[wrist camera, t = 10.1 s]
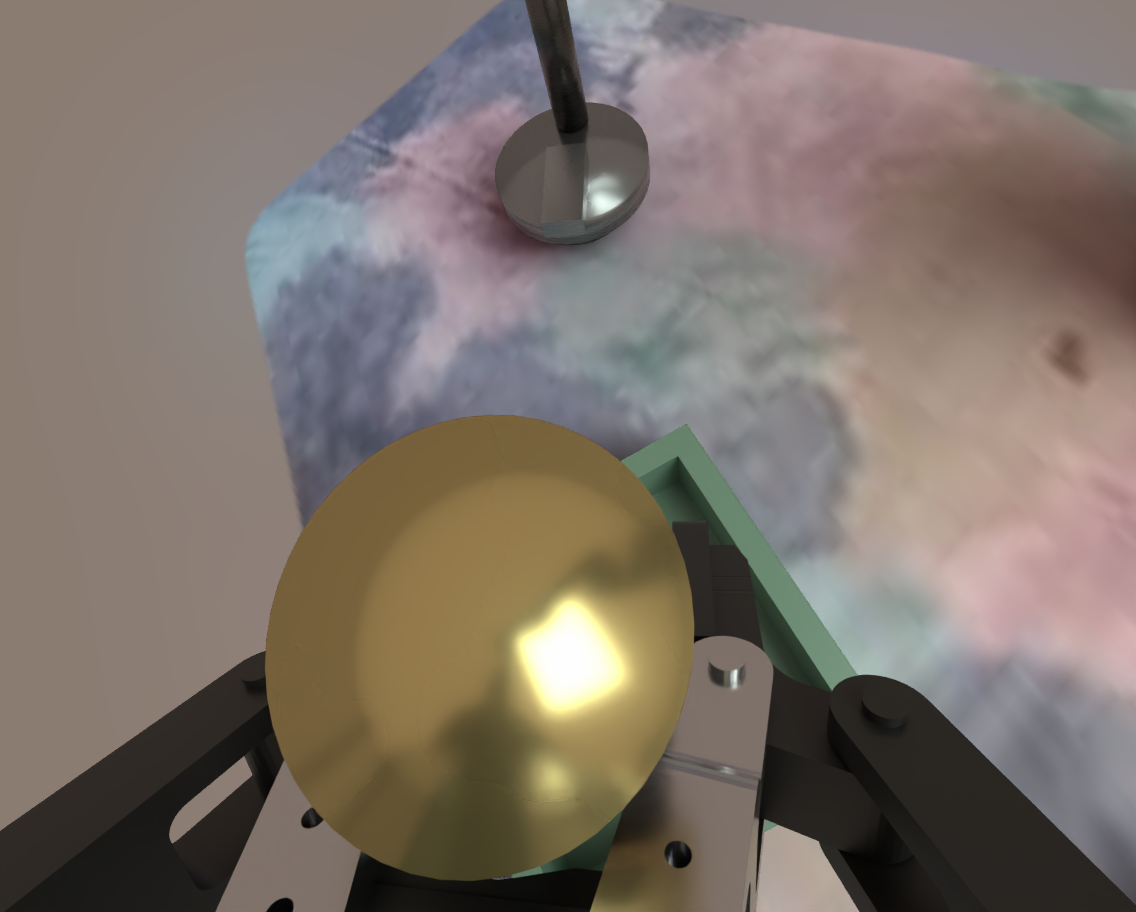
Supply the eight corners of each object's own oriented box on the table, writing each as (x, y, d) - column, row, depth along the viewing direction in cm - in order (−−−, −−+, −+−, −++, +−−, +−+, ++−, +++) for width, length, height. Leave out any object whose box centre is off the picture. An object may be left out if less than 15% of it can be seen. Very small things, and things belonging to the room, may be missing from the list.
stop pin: (652, 553, 18) (578, 302, 6) (742, 706, 16) (873, 751, 4) (514, 630, 18) (181, 523, 6) (587, 793, 16) (307, 1071, 4)
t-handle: (517, 162, 29) (425, -112, 19) (652, 145, 28) (628, -158, 18) (506, 284, 27) (393, 44, 17) (652, 272, 25) (625, 4, 15)
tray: (687, 456, 22) (686, 423, 19) (875, 739, 18) (908, 750, 15) (437, 597, 22) (399, 585, 19) (566, 914, 18) (543, 957, 15)
